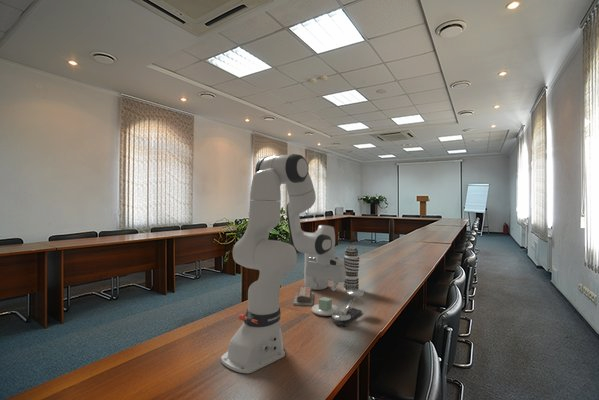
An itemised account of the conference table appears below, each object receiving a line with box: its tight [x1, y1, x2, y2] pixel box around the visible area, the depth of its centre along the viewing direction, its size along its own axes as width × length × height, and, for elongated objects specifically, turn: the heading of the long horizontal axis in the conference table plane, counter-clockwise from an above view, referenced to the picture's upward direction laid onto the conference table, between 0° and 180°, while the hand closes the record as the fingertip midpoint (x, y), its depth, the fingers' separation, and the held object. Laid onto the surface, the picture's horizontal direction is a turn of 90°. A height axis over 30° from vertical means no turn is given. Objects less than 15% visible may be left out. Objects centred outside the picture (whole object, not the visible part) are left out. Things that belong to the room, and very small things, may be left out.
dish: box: [311, 303, 340, 317], centre depth 137 cm, size 13×13×2 cm
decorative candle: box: [343, 246, 360, 292], centre depth 169 cm, size 9×9×25 cm
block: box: [318, 296, 333, 311], centre depth 136 cm, size 4×4×4 cm
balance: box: [331, 288, 365, 327], centre depth 130 cm, size 22×8×10 cm, turn 145°
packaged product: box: [292, 286, 314, 307], centre depth 153 cm, size 18×5×10 cm
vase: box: [303, 253, 329, 291], centre depth 175 cm, size 14×14×32 cm
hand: (324, 288), depth 136 cm, fingers open, 8 cm apart
